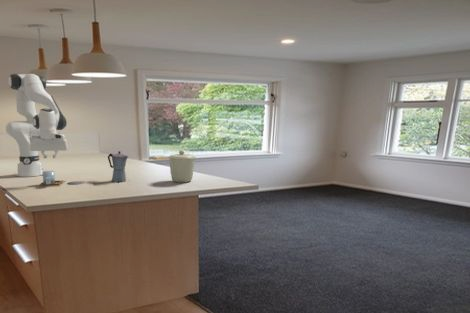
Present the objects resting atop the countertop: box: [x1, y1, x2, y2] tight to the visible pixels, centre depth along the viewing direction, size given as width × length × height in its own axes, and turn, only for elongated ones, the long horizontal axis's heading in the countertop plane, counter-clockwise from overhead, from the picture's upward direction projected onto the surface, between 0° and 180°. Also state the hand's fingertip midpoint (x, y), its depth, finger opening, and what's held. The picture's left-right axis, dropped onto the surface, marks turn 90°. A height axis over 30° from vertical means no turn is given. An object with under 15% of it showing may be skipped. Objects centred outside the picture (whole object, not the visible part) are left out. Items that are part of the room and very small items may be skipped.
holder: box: [36, 179, 66, 188], centre depth 203 cm, size 17×13×2 cm
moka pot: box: [107, 151, 129, 183], centre depth 217 cm, size 10×15×20 cm, turn 78°
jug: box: [42, 170, 56, 184], centre depth 198 cm, size 13×6×8 cm, turn 26°
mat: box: [66, 180, 85, 186], centre depth 206 cm, size 10×10×1 cm
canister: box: [167, 149, 196, 183], centre depth 218 cm, size 18×18×21 cm
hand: (49, 158), depth 201 cm, fingers open, 4 cm apart
